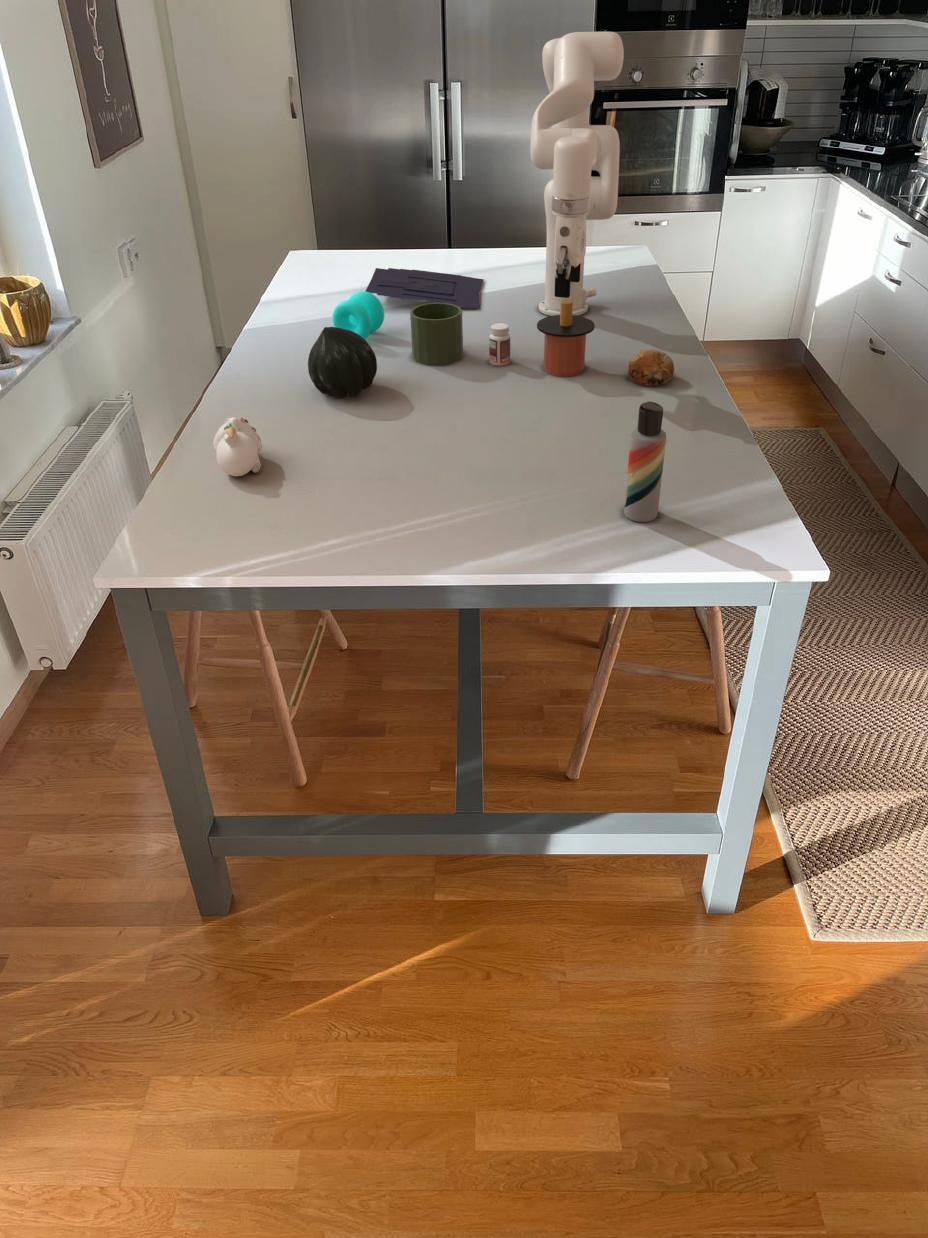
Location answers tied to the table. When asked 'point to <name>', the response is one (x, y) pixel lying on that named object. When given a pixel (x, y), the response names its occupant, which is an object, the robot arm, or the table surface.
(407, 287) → the papers
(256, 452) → the white bird figurine
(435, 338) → the pot
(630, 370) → the bread roll
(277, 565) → the table surface
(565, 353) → the cup
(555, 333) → the lid
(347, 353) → the squash
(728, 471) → the table surface
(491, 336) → the pill bottle
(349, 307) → the donuts
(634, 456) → the lotion bottle
